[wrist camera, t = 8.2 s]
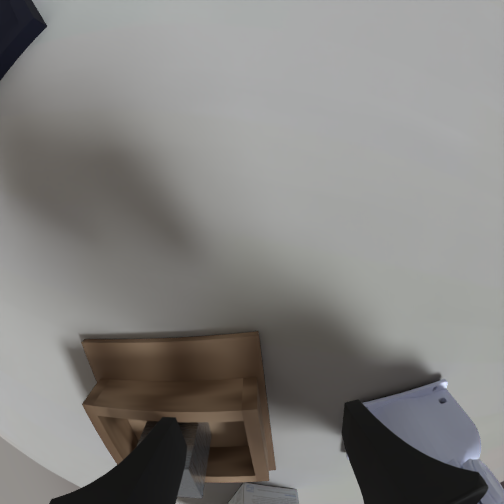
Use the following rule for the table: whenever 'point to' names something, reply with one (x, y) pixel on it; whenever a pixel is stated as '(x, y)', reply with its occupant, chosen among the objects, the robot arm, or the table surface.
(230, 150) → the table surface
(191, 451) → the steel block
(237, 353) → the walnut well
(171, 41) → the table surface
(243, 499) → the light bulb box
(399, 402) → the robot arm
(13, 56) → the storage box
